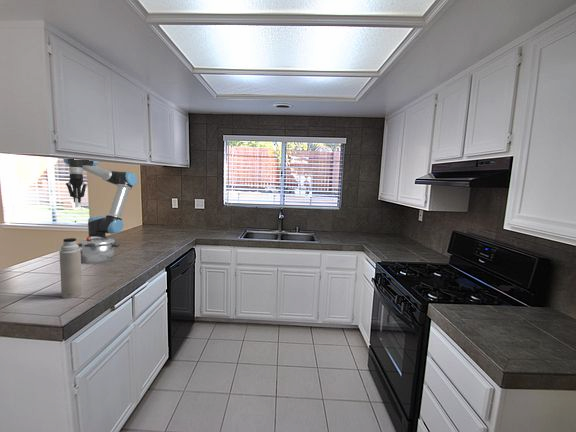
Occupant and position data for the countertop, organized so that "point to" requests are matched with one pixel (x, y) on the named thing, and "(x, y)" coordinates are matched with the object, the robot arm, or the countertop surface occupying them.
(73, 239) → the thermos bottle
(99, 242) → the cooker lid
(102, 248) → the cooker pot
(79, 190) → the robot arm
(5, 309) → the countertop surface
